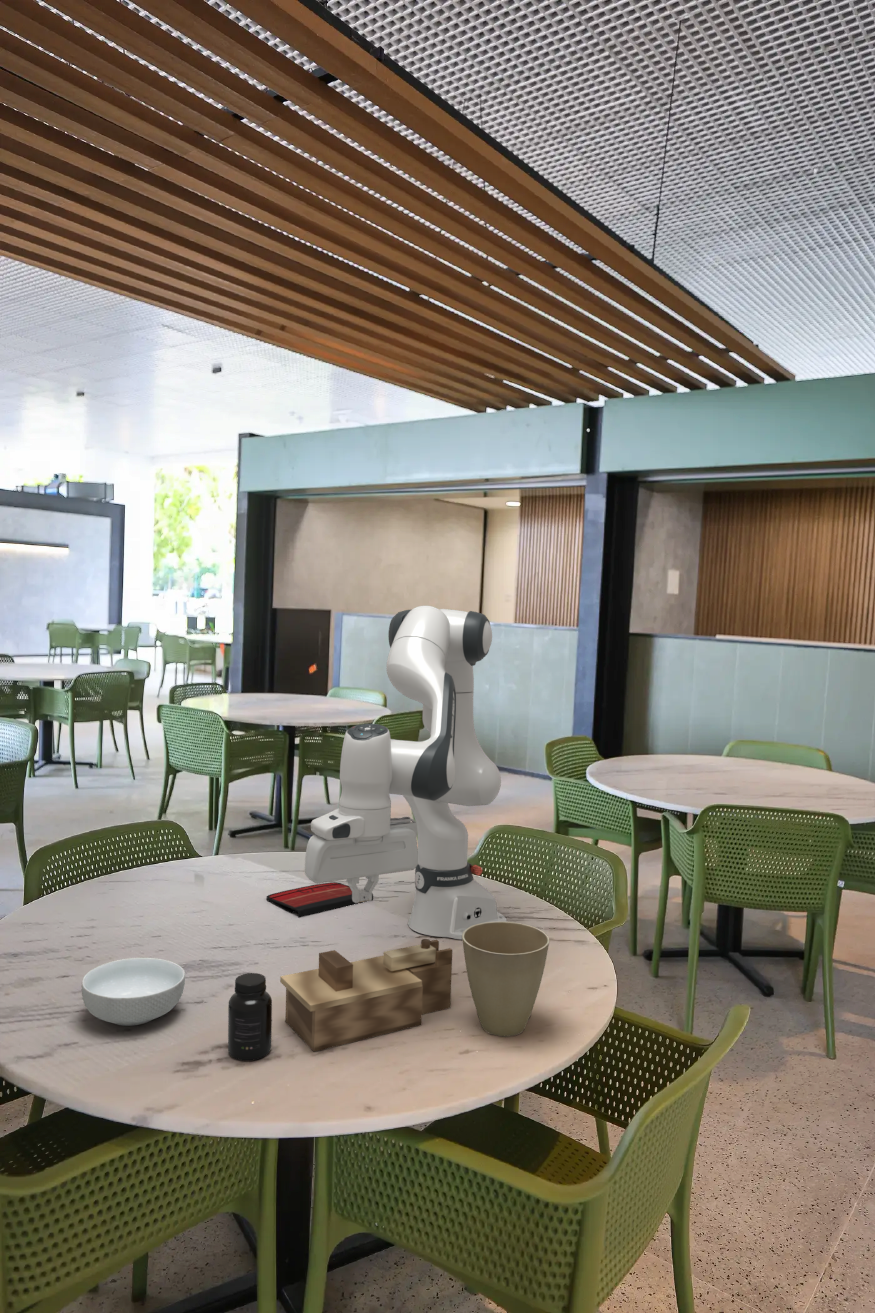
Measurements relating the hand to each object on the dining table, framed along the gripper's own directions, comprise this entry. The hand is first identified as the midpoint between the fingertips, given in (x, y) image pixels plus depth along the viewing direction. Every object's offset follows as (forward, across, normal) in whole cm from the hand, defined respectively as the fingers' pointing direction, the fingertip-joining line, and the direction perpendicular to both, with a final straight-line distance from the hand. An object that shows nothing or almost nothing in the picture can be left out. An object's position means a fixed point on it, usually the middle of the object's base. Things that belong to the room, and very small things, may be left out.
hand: (361, 901), depth 158 cm
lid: (+15, +1, 0) cm, 16 cm away
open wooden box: (+21, -3, 0) cm, 22 cm away
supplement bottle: (+22, +20, +1) cm, 29 cm away
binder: (+22, -20, -61) cm, 68 cm away
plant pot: (+21, -21, +13) cm, 33 cm away
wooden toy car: (+13, -10, 0) cm, 16 cm away
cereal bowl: (+22, +33, -20) cm, 44 cm away
